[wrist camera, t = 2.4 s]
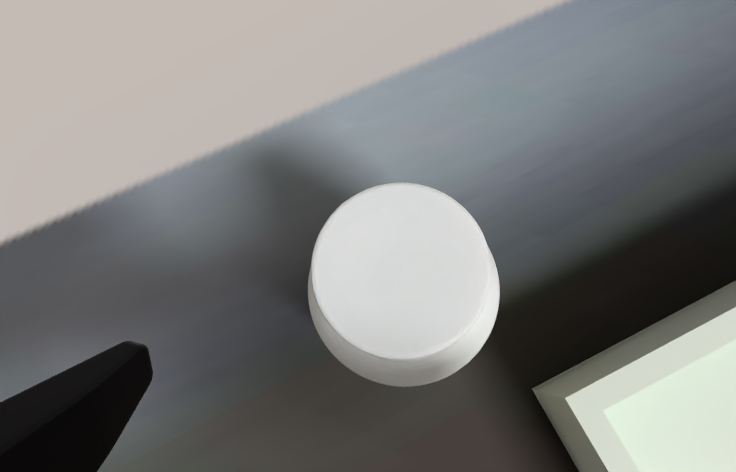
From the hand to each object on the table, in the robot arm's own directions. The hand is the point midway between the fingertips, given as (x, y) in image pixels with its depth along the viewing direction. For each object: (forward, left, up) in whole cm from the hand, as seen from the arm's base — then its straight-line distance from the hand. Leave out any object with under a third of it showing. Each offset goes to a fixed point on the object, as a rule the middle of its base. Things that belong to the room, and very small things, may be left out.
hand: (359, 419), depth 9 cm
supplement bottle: (+2, -2, -10) cm, 11 cm away
